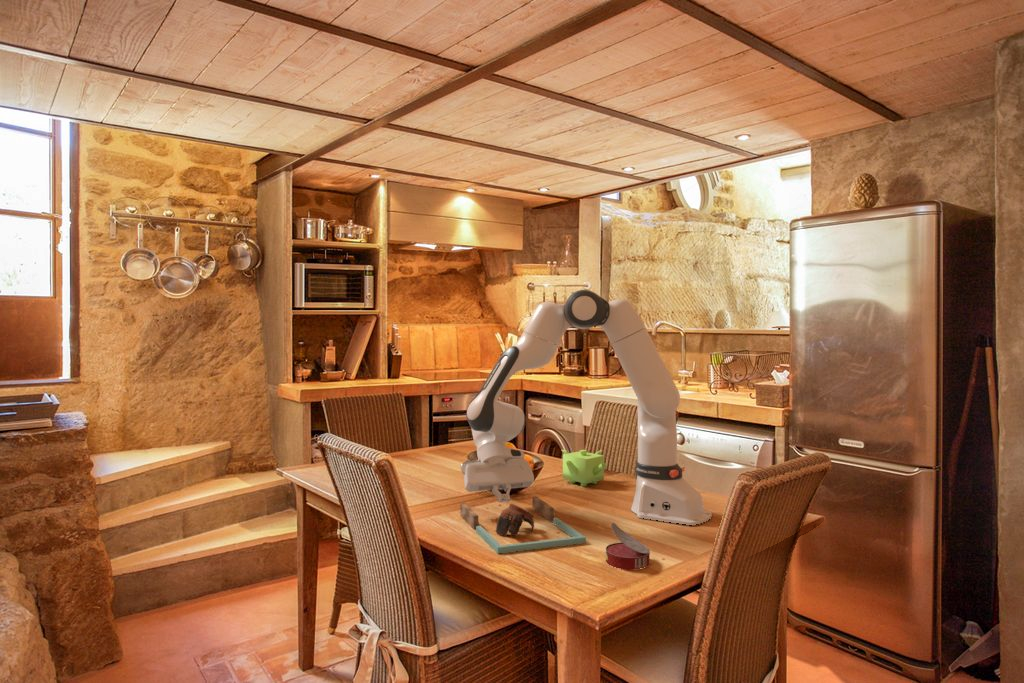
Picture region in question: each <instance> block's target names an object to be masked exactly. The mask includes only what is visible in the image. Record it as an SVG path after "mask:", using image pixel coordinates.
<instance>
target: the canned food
mask: <svg viewBox="0 0 1024 683" xmlns="http://www.w3.org/2000/svg"><path fill="white" fill-rule="evenodd" d="M610 527H611V530H612V532H613V535H615V537H616V538H617V539H618V540H619V541H620V542H614V543H610V544H608V545H607V546H606V547H605V563H606V562H607V563H608V564H609V565H608V564H607V563H606V564H607V565H608V566H610V565H611V566H613V567H612V568H614V567H616V568H615V569H617V568H621V569H620V570H622V569H640V568H644V567H646V566H648V565H649V566H650V555H651V554H650V553H651V552H650V549H649V548H648V547H647V546H646V545H645V544H644V543H643V542H641V541H640V540H638V539H636V538H634V537H633V536H631V535H630V534H628V533H627V532H626V531H624V530H623V529H622V528H620V527H619V526H618V525H617V524H616V523H615V522H612V523H610ZM611 566H610V567H611ZM649 566H648V567H649ZM646 568H647V567H646ZM644 569H645V568H644ZM640 570H641V569H640Z"/></svg>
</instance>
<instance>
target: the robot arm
mask: <svg viewBox="0 0 1024 683" xmlns="http://www.w3.org/2000/svg"><path fill="white" fill-rule="evenodd" d="M593 327H599V328H600V329H601V330H603V332H604V333H605V335H606V337H607V338H608V341H609V343H610V345H611V347H612V349H613V351H614V354H615V356H616V357H617V360H618V362H619V363H620V365H621V367H622V370H623V371H624V373H625V375H626V377H627V379H628V381H629V384H630V386H631V388H632V390H633V391H634V395H635V396H636V398H637V399H636V402H637V461H635V478H636V485H635V492H634V497H633V501H632V505H631V508H630V509H631V512H633V513H634V514H636V517H637V518H639V519H643V518H644V520H650V519H651V520H650V521H656V520H658V521H657V522H663V521H664V523H669V522H671V523H670V524H676V523H679V524H678V525H682V524H686V525H685V526H689V525H692V526H697V525H696V524H699V525H701V524H700V523H702V524H704V523H703V522H705V523H707V522H709V521H710V520H711V519H712V518H713V517H712V516H713V515H712V512H711V511H709V510H706V509H705V507H704V501H703V497H702V494H701V493H700V492H699V491H698V490H697V489H696V488H694V487H693V486H692V485H691V484H690V483H689V482H688V480H686V479H685V478H683V472H685V471H686V470H685V469H686V467H684V466H683V467H681V466H680V465H679V463H678V462H677V461H678V460H677V458H678V455H677V454H678V452H677V451H678V433H677V432H678V431H677V417H676V411H677V410H678V408H679V406H680V403H681V402H680V401H681V395H680V391H679V389H678V387H677V385H676V384H675V381H674V379H673V377H672V375H671V373H670V372H669V370H668V368H667V366H666V364H665V362H664V361H663V358H662V357H661V355H660V353H659V351H658V349H657V346H656V345H655V344H654V340H653V339H652V338H651V335H650V333H649V331H648V329H647V327H646V325H645V324H644V322H643V320H642V318H641V317H640V315H639V313H638V312H637V310H636V309H635V307H634V306H633V305H632V303H631V302H630V301H629V300H628V299H624V298H616V299H613V300H610V301H607V300H606V299H604V298H603V297H602V296H600V295H599V294H597V293H595V292H594V291H592V290H588V289H580V290H577V291H575V292H572V294H570V295H569V297H568V298H567V300H566V301H565V302H563V303H562V304H558V303H556V302H553V301H544V302H541V303H539V304H537V306H536V308H535V309H534V311H533V312H532V314H531V315H530V317H529V319H528V321H527V323H526V325H525V327H524V329H523V332H522V334H521V335H520V337H519V338H518V340H517V341H516V342H515V343H514V344H513V345H512V346H509V347H508V348H506V349H505V350H504V351H503V352H502V354H500V357H498V360H497V361H496V363H495V365H494V366H493V368H492V370H491V371H490V373H489V375H488V377H487V378H486V379H485V381H484V383H483V384H482V386H481V388H480V389H479V391H478V393H477V394H476V395H475V396H474V397H473V398H472V399H471V401H470V402H469V404H468V406H467V408H466V411H465V412H466V414H465V415H466V419H467V422H468V424H469V426H470V428H471V435H472V438H473V443H474V445H475V447H476V455H477V459H473V460H465V461H464V462H462V463H461V464H460V470H461V473H462V475H463V481H464V482H463V483H464V488H465V490H466V491H467V492H469V493H472V492H482V491H483V492H484V491H492V494H493V495H494V496H495V497H496V498H497V499H498V503H510V500H511V496H510V492H511V490H512V489H519V488H530V487H532V485H533V483H534V481H535V476H534V472H533V469H532V467H531V465H530V463H529V461H528V460H526V459H525V452H524V451H523V450H520V449H515V448H512V447H508V446H506V442H511V441H512V440H513V439H515V438H516V437H517V436H519V435H520V434H521V433H522V432H523V431H524V429H525V426H526V416H525V412H524V410H523V409H522V408H521V407H520V406H517V405H514V404H511V403H508V402H504V401H501V400H498V398H499V397H500V395H501V394H502V392H503V391H504V389H505V387H506V385H507V384H508V382H509V380H510V378H512V376H514V375H515V374H516V373H518V372H521V371H525V370H535V369H539V368H542V367H545V366H546V365H548V364H549V363H550V362H551V361H552V359H553V358H554V356H555V354H556V352H557V350H558V346H559V345H560V343H561V340H562V338H563V336H564V334H565V332H566V331H567V330H568V329H576V330H578V329H579V330H589V329H591V328H593ZM500 490H503V491H504V492H506V493H502V492H500ZM711 517H712V518H711ZM709 519H710V520H709ZM708 520H709V521H708ZM706 521H707V522H706Z"/></svg>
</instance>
